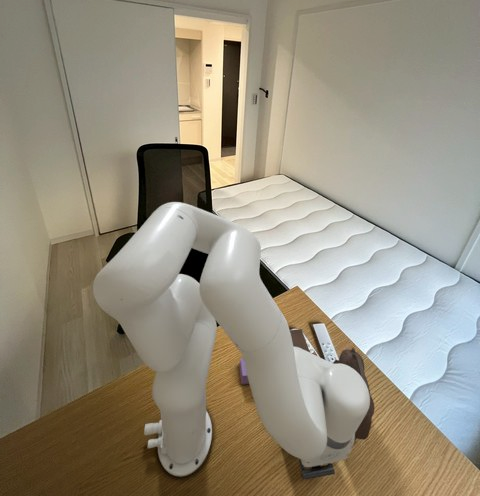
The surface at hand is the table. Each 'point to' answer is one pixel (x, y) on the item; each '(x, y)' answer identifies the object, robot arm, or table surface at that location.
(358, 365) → the brown beanbag pouch
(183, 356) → the robot arm
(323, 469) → the tray
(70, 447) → the table surface
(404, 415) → the table surface
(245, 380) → the purple cube
